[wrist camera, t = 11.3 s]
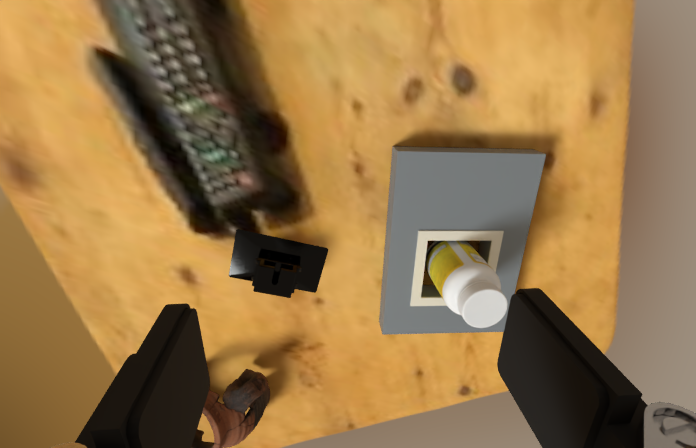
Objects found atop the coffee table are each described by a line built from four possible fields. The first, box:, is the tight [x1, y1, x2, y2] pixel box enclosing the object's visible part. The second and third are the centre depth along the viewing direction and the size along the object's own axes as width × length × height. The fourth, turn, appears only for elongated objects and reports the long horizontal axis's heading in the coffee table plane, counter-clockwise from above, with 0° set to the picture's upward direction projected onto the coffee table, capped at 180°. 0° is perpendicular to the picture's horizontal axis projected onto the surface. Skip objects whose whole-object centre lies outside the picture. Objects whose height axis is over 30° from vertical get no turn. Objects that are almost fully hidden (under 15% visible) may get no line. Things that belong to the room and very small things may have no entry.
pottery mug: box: [191, 369, 270, 448], centre depth 43 cm, size 12×10×8 cm
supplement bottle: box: [425, 241, 508, 328], centre depth 37 cm, size 5×5×10 cm
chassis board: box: [379, 146, 546, 334], centre depth 40 cm, size 20×14×3 cm
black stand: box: [229, 229, 328, 298], centre depth 39 cm, size 12×7×5 cm, turn 75°
